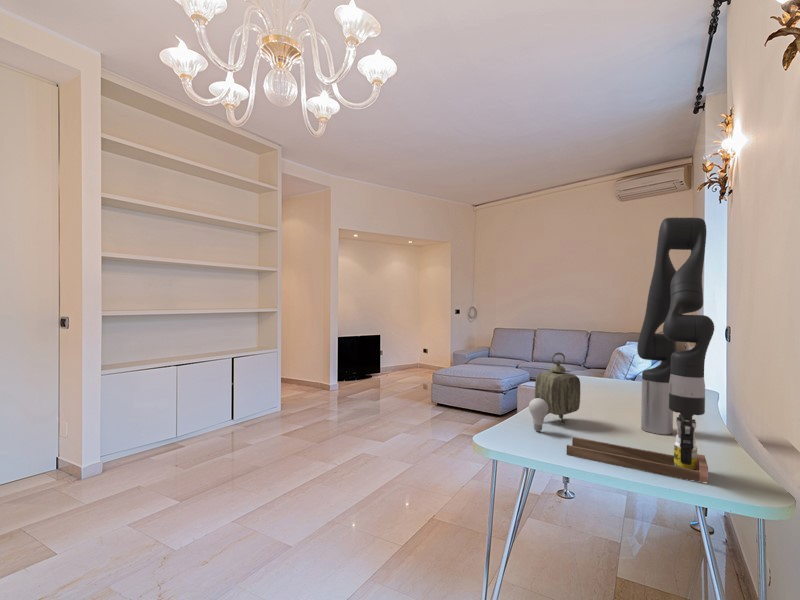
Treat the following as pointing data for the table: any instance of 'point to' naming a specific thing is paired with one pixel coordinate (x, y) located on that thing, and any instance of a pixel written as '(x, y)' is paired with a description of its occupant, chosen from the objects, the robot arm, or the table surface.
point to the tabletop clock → (558, 390)
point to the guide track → (636, 459)
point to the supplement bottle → (678, 454)
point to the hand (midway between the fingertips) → (685, 460)
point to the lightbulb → (538, 412)
